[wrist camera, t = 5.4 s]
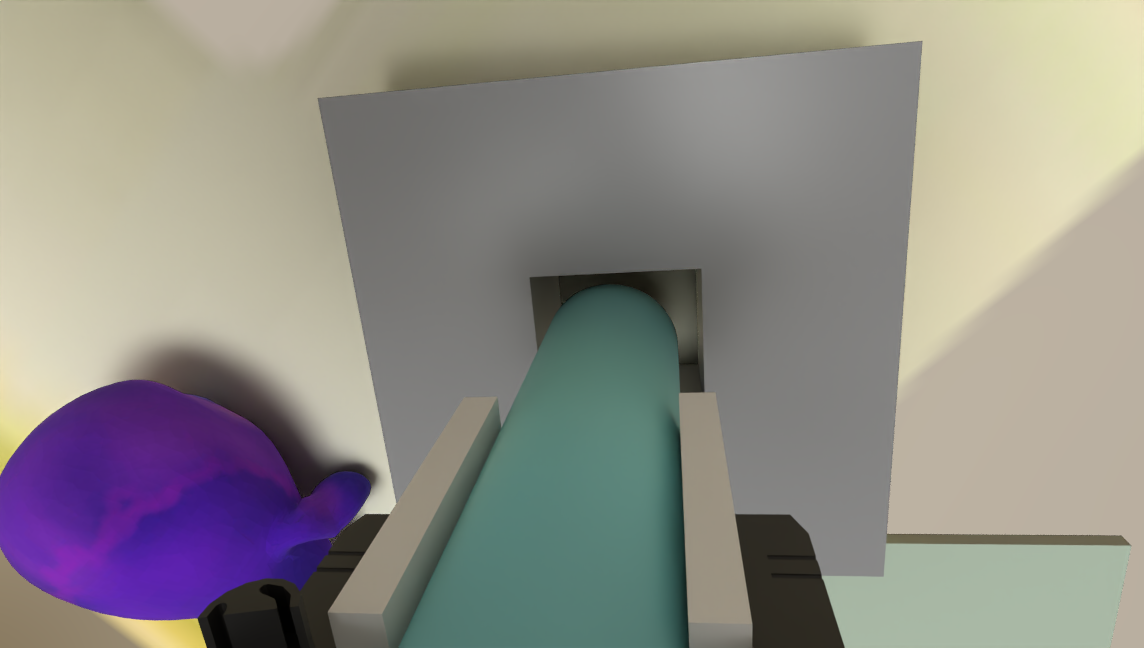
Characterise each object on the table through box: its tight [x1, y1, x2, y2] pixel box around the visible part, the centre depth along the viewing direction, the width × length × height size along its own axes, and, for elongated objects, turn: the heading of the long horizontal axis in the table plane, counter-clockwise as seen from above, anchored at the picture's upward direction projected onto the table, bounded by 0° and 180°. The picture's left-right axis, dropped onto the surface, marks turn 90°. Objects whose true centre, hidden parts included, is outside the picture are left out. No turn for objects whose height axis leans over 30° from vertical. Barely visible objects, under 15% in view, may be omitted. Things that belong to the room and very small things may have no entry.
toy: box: [0, 380, 371, 620], centre depth 26 cm, size 9×10×15 cm
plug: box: [398, 284, 689, 648], centre depth 14 cm, size 4×4×14 cm
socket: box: [318, 41, 922, 577], centre depth 23 cm, size 16×16×5 cm
